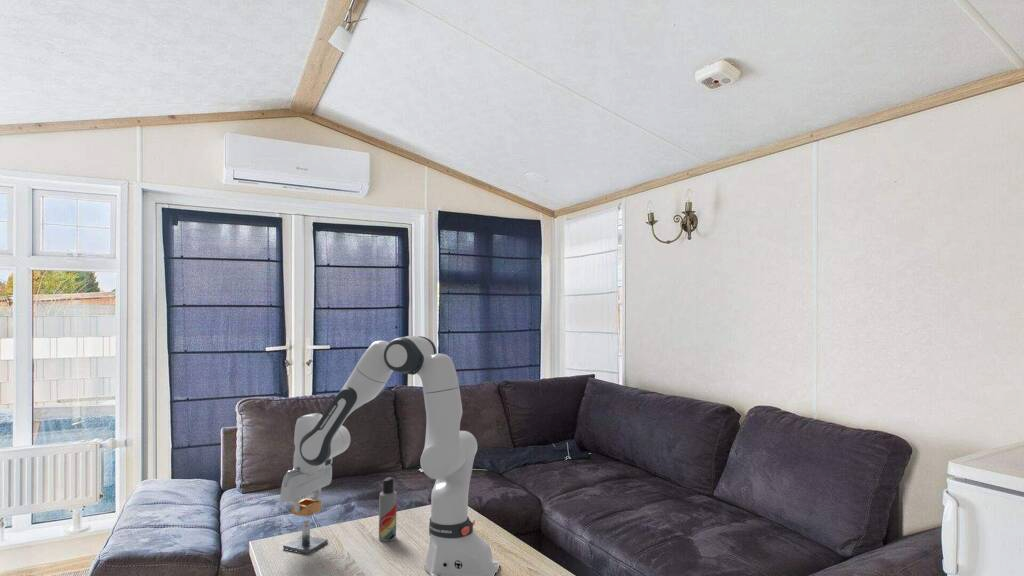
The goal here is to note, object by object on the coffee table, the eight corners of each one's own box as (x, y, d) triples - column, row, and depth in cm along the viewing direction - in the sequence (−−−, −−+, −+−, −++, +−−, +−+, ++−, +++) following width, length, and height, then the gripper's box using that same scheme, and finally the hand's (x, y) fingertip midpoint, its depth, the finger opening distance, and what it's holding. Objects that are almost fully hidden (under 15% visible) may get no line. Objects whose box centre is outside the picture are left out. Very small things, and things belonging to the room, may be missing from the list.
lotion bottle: (391, 542, 180) (392, 481, 180) (375, 541, 181) (377, 480, 182) (398, 535, 185) (399, 476, 186) (383, 534, 186) (384, 475, 187)
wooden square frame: (321, 510, 178) (321, 500, 179) (307, 516, 172) (307, 507, 173) (305, 507, 181) (305, 498, 181) (291, 513, 175) (291, 504, 175)
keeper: (327, 543, 179) (328, 517, 179) (308, 554, 170) (309, 527, 170) (303, 538, 182) (303, 513, 182) (283, 549, 174) (283, 522, 174)
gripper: (292, 473, 166) (291, 519, 166) (335, 457, 186) (334, 498, 185) (276, 471, 169) (274, 516, 168) (320, 455, 188) (319, 495, 187)
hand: (306, 506), depth 177 cm, fingers closed on wooden square frame, 6 cm apart
